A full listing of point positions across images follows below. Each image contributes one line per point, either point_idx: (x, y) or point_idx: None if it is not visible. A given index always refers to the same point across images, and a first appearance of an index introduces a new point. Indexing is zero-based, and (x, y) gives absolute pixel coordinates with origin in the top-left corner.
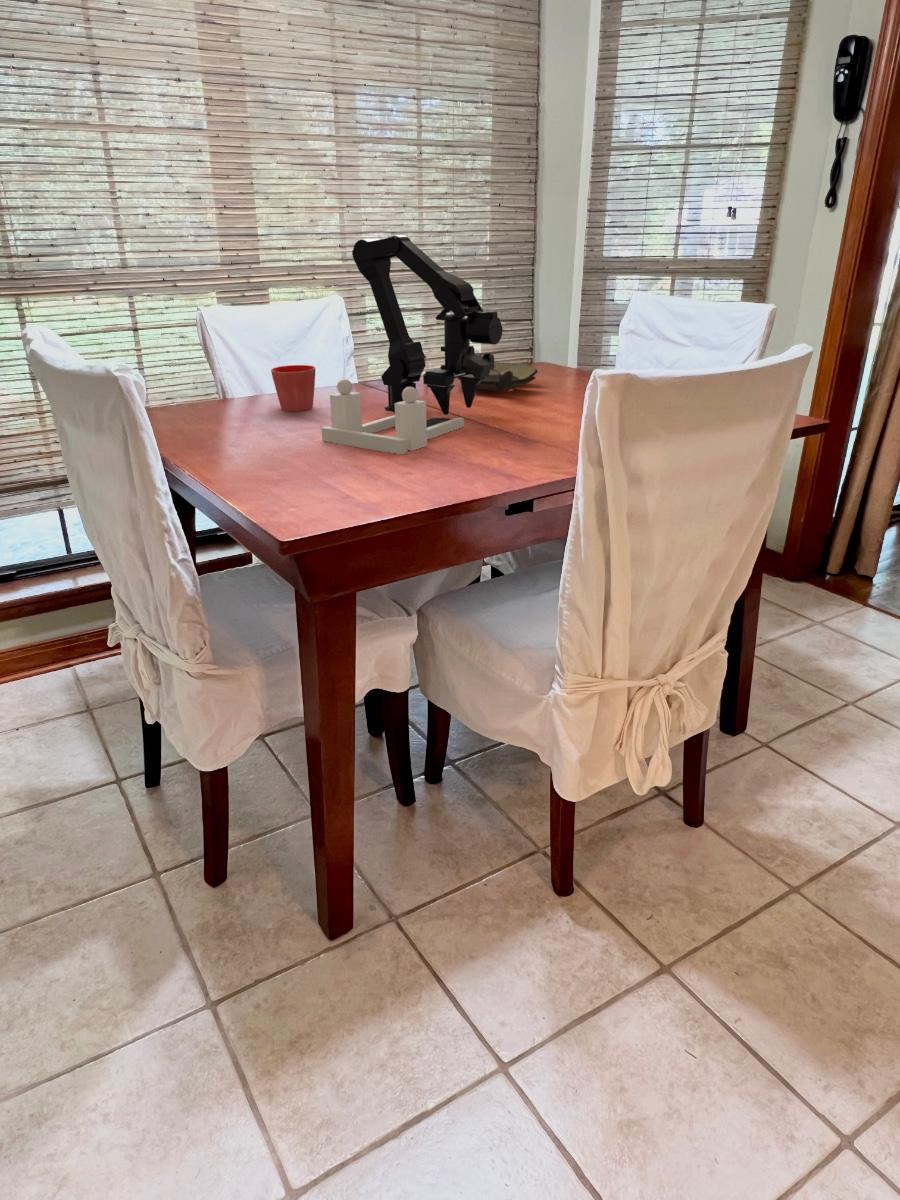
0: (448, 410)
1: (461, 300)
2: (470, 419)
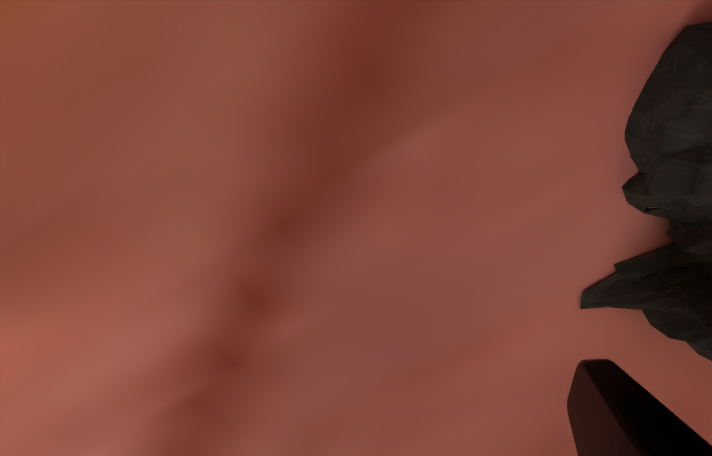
0: (618, 402)
1: None
2: (332, 47)
